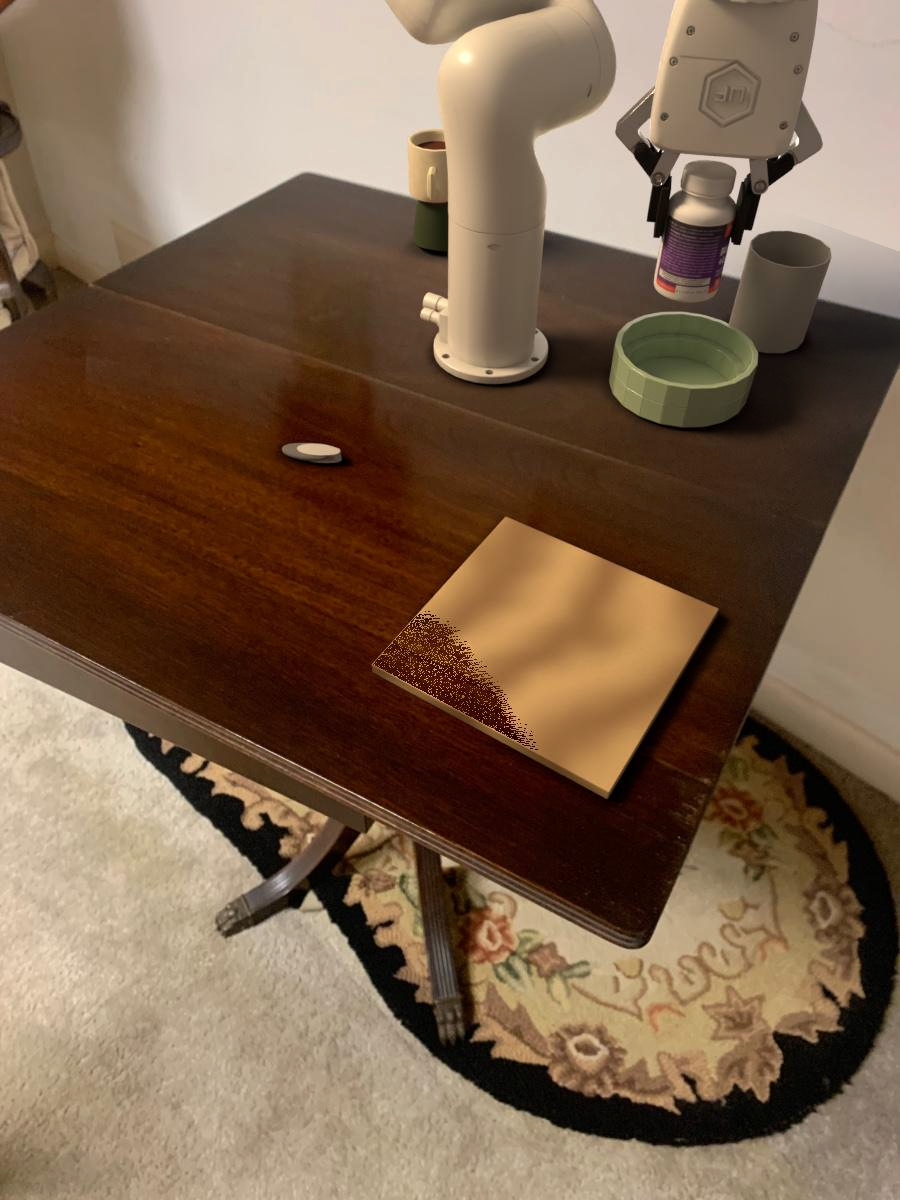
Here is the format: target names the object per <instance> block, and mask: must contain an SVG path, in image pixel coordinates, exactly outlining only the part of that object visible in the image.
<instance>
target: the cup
mask: <svg viewBox="0 0 900 1200" xmlns="http://www.w3.org/2000/svg"><path fill="white" fill-rule="evenodd" d="M832 257H833V256H832V251H831V248H830V246H828V245H827V244H826V243H825V242H824V241H822V240H821V239H819V238H816V237H814V236H811V235H810V234H806V233H802V232H797V231H792V230H770V231H765V232H761V233H758V234H757V235H756V236H754V237H753V238H752V239H751V240H750V242H749V246H748V249H747V254H746V257H745V261H744V265H743V268H742V272H741V276H740V280H739V284H738V288H737V290H736V291H737V292H736V295H735V299H734V302H733V306H732V310H731V314H730V318H729V322H728V324H730V325H732V326H734V327H736V328H737V329H739V330H741V331H742V332H743V333H744V334H745V335H746V336H747V337H748V338H750V339H751V340H752V342H753V344H754V346H755V348H756V349H757V351H758V353H759V352H760V353H764V354H785V353H788V352H791V351H794V350H797V349H798V348H799V347H800V346H801V345H802V344H803V342H804V341H805V337H806V334H807V331H808V328H809V326H810V322H811V319H812V316H813V313H814V311H815V307H816V304H817V301H818V298H819V295H820V293H821V289H822V287H823V284H824V281H825V277H826V275H827V272H828V270H829V267H830V263H831V260H832Z"/></svg>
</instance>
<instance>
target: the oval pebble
mask: <svg viewBox="0 0 900 1200" xmlns="http://www.w3.org/2000/svg"><path fill="white" fill-rule="evenodd" d="M281 452H282V453H283V454H284V455H285V456H288V457H289V458H292V459H295V460H300V461H305V462H311V463H318V464H333V463H340V462H341V461H342V460H343V458H342V452H341V449H340V448H338V447H335V446H333V445H329V444H324V443H313V442H293V443H288V444H287V443H286V444H285V445H283V446H282V448H281Z"/></svg>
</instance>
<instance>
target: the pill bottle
mask: <svg viewBox="0 0 900 1200" xmlns="http://www.w3.org/2000/svg"><path fill="white" fill-rule="evenodd" d="M737 175H738V174H737V170H736V168H735V167H733V166H732V165H730V164H729V163H727V162H726V163H725V162H723V161H718V160H713V159H698V160H693V161H690V162H688V163H686V164H685V165H684V167H683V171H682V175H681V179H680V189H679V190H678V191H676V192H675V193H673V194H672V195H671V196H670V199H669V204H668V210H667V215H666V221H665V226H664V231H663V237H660V244H659V249H658V252H657V253H658V254H657V260H656V264H655V270H654V277H653V287H654V289H655V291H657V293H659V294H660V295H661V296H662V297H664V298H666V299H668V300H670V301H674V302H679V303H690V304H691V303H692V304H693V303H699V302H705V301H708V300H711V298H714V296H715V295H716V294H717V293H718V290H719V287H720V283H721V281H722V276H723V271H724V267H725V264H726V263H725V262H726V258H727V254H728V250H729V247H730V243H731V234H732V230H733V226H734V222H735V218H736V212H737V206H736V201H735V200H734V198H733V197H732V196H731V195H732V192H733V190H734V188H735V183H736V179H737Z"/></svg>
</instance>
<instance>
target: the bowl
mask: <svg viewBox="0 0 900 1200" xmlns="http://www.w3.org/2000/svg"><path fill="white" fill-rule="evenodd" d="M758 363H759V351H757V349H756V348H755V346H754V344H753V342H752V340H751V339H750V338H748V337H747V336H746V335H745V334H744V333H743V332H742V331H741V330H739V329H737V328H736V327H734V326H732V325H730V324H729V322H726V321H724V320H721V319H719V318H715V317H712V316H709V315H706V314H701V313H695V312H689V311H659V312H654V313H649V314H644V315H641V316H638V317H637V318H634V319H632V320H631V321H628V322H626V324H624V326H622V328H621V329H620V330H619V331H618V332H617V335H616V338H615V343H614V348H613V354H612V360H611V367H610V373H609V378H608V383H609V386H610V389H611V393H612V395H613V396H614V397H615V398H616V400H617V401H618V402H619V403H620V404H621V406H623V407H624V408H625V409H627V410H629V411H630V412H632V413H633V414H635V415H636V416H637V417H640V418H643V419H645V420H648V421H651V422H653V423H657V424H660V425H665V426H671V427H678V428H706V427H710V426H714V425H717V424H721V423H725V422H726V421H728V420H730V419H732V418H733V417H736V416H737V415H738V414H739V413H740V412H741V411H742V409H743V407H744V406H745V405H746V404H747V400H748V397H749V394H750V391H751V387H752V384H753V380H754V379H755V378H754V377H755V374H756V371H757V368H758V365H759V364H758Z"/></svg>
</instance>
